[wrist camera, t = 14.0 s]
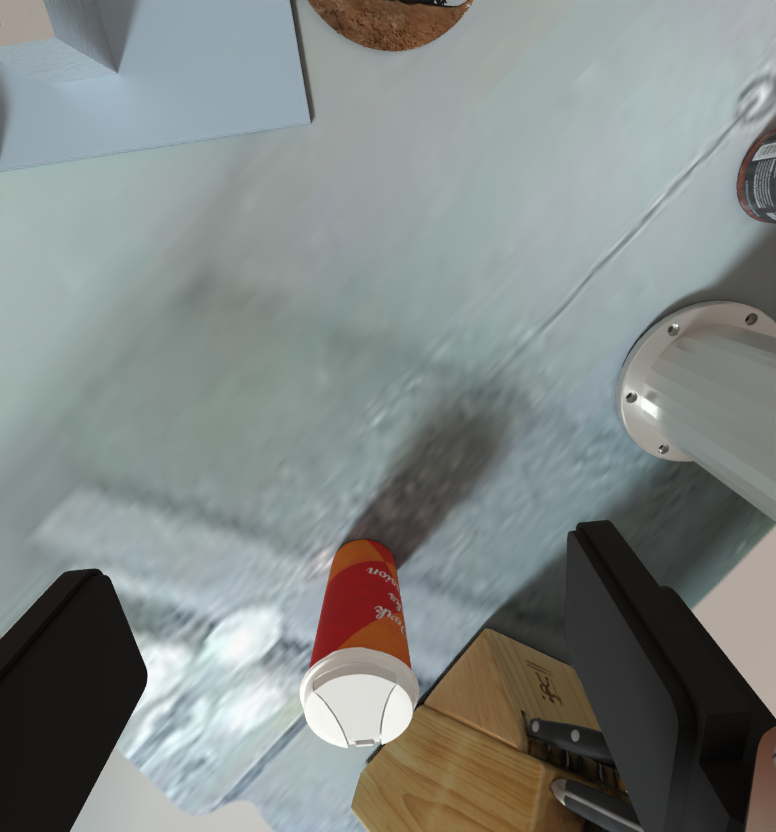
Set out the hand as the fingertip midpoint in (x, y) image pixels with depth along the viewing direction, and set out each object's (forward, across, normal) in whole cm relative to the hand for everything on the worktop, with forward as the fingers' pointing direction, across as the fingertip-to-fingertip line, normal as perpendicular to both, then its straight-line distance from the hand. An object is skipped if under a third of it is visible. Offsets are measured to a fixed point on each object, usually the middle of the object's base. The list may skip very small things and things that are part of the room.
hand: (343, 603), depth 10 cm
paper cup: (+28, +4, +20) cm, 34 cm away
